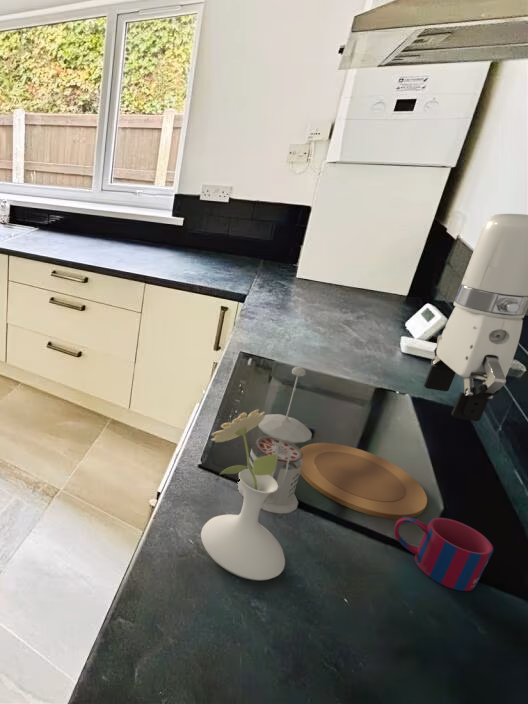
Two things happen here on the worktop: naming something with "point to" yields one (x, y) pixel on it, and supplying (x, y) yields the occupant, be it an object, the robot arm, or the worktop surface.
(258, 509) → the flower in vase
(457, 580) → the mug
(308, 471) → the round wooden plate
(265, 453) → the french press
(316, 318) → the worktop surface
